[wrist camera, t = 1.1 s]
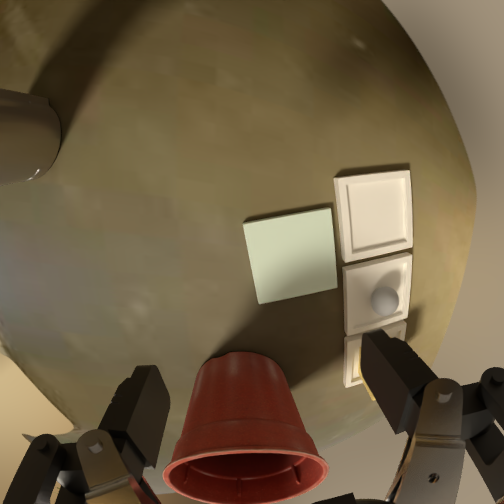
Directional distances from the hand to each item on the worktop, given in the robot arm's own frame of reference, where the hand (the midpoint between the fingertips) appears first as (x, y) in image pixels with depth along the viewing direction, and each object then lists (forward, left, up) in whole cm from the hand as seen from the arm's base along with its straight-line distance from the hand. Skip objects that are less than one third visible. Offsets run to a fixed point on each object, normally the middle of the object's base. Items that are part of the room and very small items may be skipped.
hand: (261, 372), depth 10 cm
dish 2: (+10, +15, -20) cm, 27 cm away
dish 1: (0, +15, -20) cm, 24 cm away
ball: (+10, +15, -19) cm, 26 cm away
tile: (+3, +5, -20) cm, 20 cm away
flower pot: (+20, -4, -20) cm, 29 cm away
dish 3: (+20, +15, -20) cm, 32 cm away
